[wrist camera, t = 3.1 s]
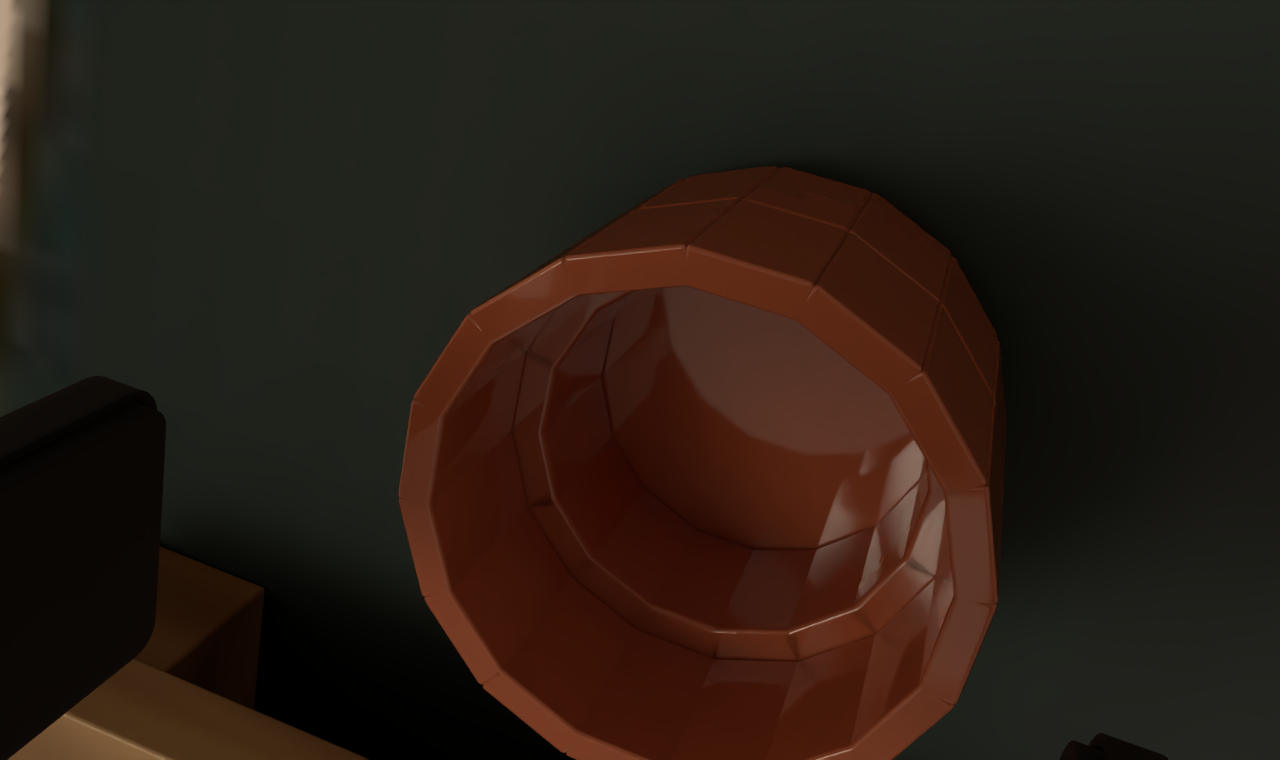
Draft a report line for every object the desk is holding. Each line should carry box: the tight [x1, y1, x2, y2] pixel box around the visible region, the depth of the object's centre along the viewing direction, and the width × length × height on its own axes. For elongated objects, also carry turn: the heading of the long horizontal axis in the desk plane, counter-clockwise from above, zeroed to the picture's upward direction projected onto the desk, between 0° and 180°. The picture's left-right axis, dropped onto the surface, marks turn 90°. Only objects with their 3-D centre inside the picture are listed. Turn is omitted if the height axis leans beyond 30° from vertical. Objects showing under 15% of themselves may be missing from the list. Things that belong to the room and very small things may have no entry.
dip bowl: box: [398, 166, 1006, 760], centre depth 15 cm, size 7×7×6 cm
